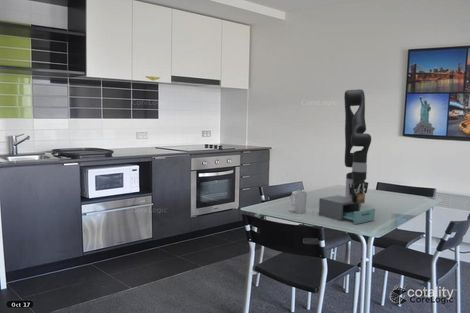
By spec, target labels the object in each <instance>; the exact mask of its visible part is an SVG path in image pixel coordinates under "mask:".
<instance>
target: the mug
mask: <svg viewBox="0 0 470 313" xmlns="http://www.w3.org/2000/svg"><path fill="white" fill-rule="evenodd" d="M307 194H308V191H305V190H296V191H294V192H291V195H290V198H289V199H290V204H291V206H292V207H294V212H295V213H297V214H305V213H306V211H307ZM293 197H294V200H293Z"/></svg>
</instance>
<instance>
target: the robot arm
mask: <svg viewBox="0 0 470 313" xmlns="http://www.w3.org/2000/svg"><path fill="white" fill-rule="evenodd" d="M365 98H366V96H365V92H364V90H363V89H347V90H345V91H344V114H345V116H344V117H345V120H344V122H345V123H344V124H345V125H344V140H345V141H344V142H345V148H344V166H345V167H346V168H351V172H348V173H346V176H345V178H346V180H345V196H344V197H349V198H351V195H352V202H354V203H356V202H357V193H363V194H365V195H366V194H367V192H368V187H369V182H367V181H366V180H367V174H368V173H367V172H368V171H367V170H368V164H367V162H368V161H367V160H368V153H369V149H370V146H371V142H372V136H371V134H369V133H366V131H367V125H366V114H365V112H366V99H365ZM355 106H358V108H357V109H356V111H355V112H354V111H352V108H351V107H355ZM354 147H363V148H362V149H360V150H355V151H353V152H351V151H352V149H353V148H354Z"/></svg>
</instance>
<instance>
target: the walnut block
mask: <svg viewBox="0 0 470 313" xmlns="http://www.w3.org/2000/svg"><path fill="white" fill-rule="evenodd" d="M365 200H366V193H365V194H363V193H357V202H356V204H361V205H362V204H365V202H366V201H365ZM351 202H352V195H351ZM352 203H354V202H352Z"/></svg>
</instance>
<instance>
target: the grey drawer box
mask: <svg viewBox="0 0 470 313" xmlns="http://www.w3.org/2000/svg"><path fill="white" fill-rule="evenodd" d="M318 201H319V205H318V206H319V207H318V208H319V209H318V216H323V217H325V216H326V218H329V217H330V218H329V219H333V220H336V219H337V221H341V222H342V221H346V220H348V219H346V218H343V212H348V211H350V212H355V211H361V205H362V203H361V204H356V203H352V202H351V198H349V197H345V196H343V195H339V194H337V195H333V196H332V195H331V196H325V197H319V200H318Z"/></svg>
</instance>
